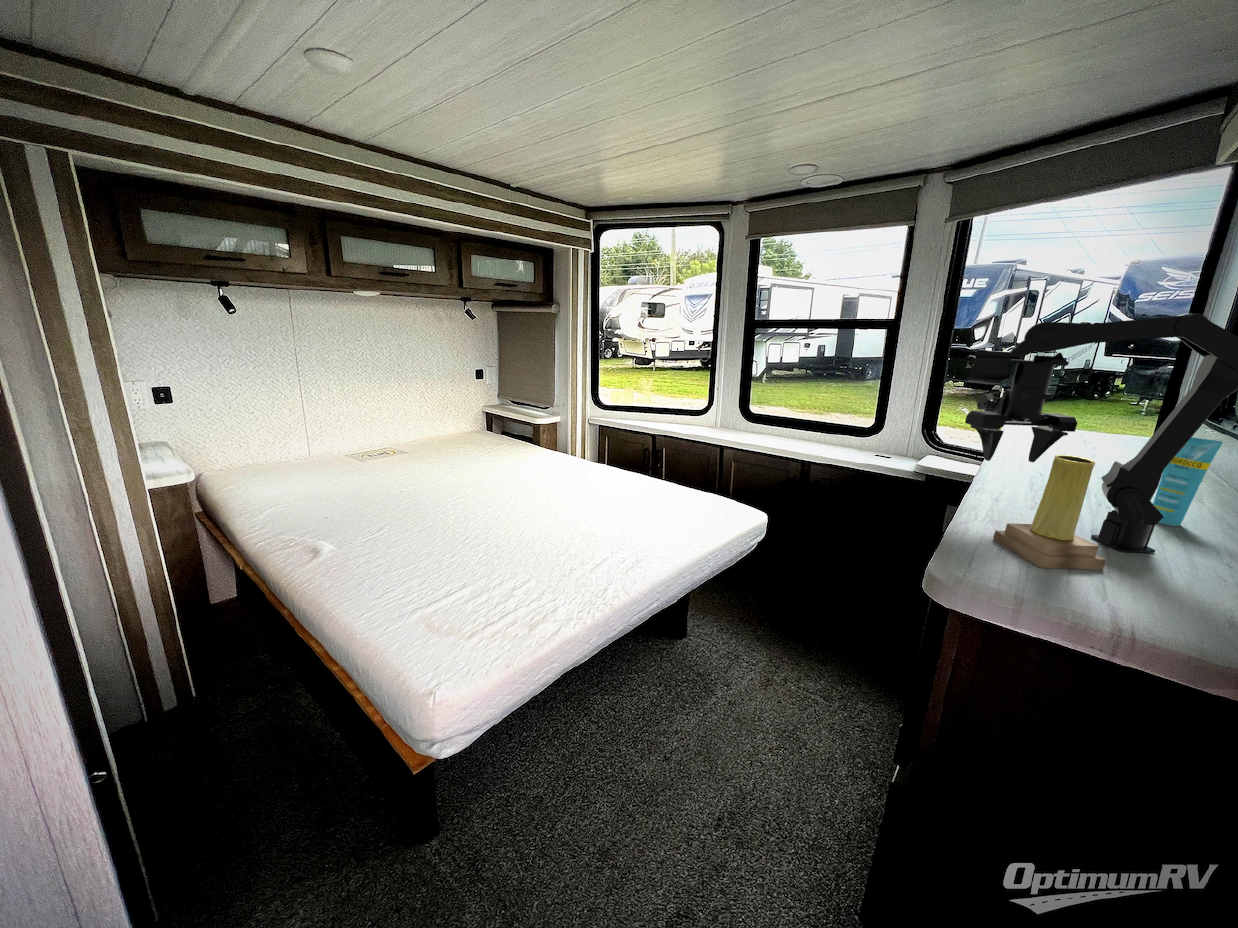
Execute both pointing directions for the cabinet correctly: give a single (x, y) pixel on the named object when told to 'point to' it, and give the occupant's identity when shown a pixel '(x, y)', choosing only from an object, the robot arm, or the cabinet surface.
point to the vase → (1063, 498)
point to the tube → (1184, 479)
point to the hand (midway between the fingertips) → (1009, 461)
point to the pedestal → (1050, 549)
